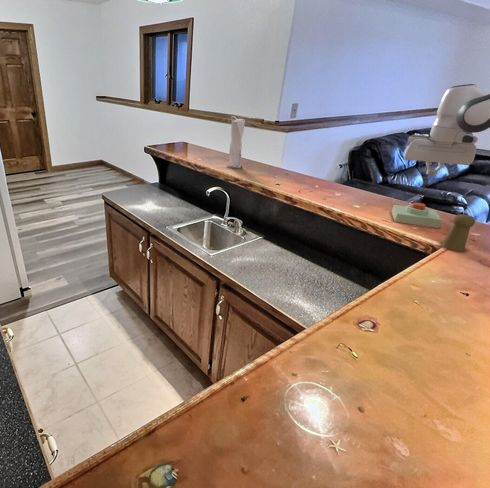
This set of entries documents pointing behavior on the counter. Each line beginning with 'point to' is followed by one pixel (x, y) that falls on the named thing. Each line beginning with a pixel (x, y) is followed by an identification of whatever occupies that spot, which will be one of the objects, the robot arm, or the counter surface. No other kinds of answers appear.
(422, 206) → the release button
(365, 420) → the counter surface
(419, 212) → the button base
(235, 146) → the skyscraper
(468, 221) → the cork
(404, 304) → the counter surface
